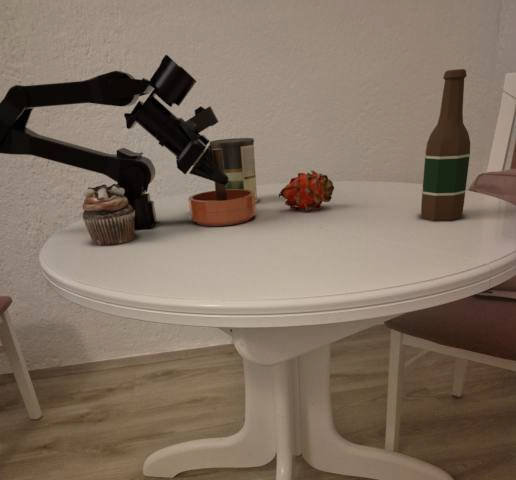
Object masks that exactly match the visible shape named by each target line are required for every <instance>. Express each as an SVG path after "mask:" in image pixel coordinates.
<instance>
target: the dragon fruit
mask: <svg viewBox="0 0 516 480" xmlns="http://www.w3.org/2000/svg"><path fill="white" fill-rule="evenodd" d="M310 172H311V173H310ZM310 172H307V173H304V172H298V173H297V176H296V177H292V178H291V179H290V181H289V183H288V184H286V185H285V186H284V187H283V188H282V189H280V190H281V191H280V192H279V193H278V198H281V197H282V198H283V199H284V200H285V201H284V205H285V206H287V207H289V209H290V210H298V211H301V210H304V209H305V212H309V211H310V210H312V209H314V210H319V209H321V207H322V204H323V203H330V202H331V200H332V198H333V197H332V195H333V192H334V190H335V186H334V183H333V182H334V181H332V180H331V179H330V178H328V175H326V174H323V173H317V172H316V171H314V170H313V169H312V170H310Z"/></svg>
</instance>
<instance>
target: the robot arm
mask: <svg viewBox="0 0 516 480" xmlns="http://www.w3.org/2000/svg"><path fill="white" fill-rule="evenodd" d="M196 84H197V80H196V79H195V77H193V76H192V75H191V74H190V73H189V72H188V71H187V70H186V69H185V68H184V67H182V65H179V64H178V63H177V62H176V61H174V59H173V58H171V57H170V56H169V55H168V54H165V55H164V56H163V58H161V61H160V64H159V66H158V67H157V68H156V70H155V71H154V73H153V75H152V76H151V77H150V79H148V78H145V77H143V78H142V79H139V78H136V77H134V76H133V75H132V74H130V73H128V72H125V71H121V70H120V71H119V70H113V71H109V72H106V73H102V74H99V75H96V76H94V77H91V78H89V79H85V80H79V81H69V82H68V81H67V82H57V83H56V82H55V83H43V84H31V85H30V84H29V85H21V84H15V85H11V86H10V87H9V88H8V91H7V92H6V94H5V96H4V97H3V99H2V100H1V101H0V154H3V155H17V156H20V155H21V156H22V155H23V156H34V157H37V158H41V159H45V160H48V161H53V162H56V163H59V164H64V165H68V166H71V167H75V168H78V169H83V170H86V171H88V172H89V171H90V172H94V173H97V174H101V175H103V176H106V177H108V178H109V179H111V180H113V181H114V182H116V184H117V185H119V186H120V188H123V189H124V190H125V193H124V195H123V196H125V197H126V198H127V199H128V204H130V205H131V206H132V208H133V210H135V220H134V230H142V229H152V228H153V226H154V225H155V223H156V221H157V213H156V209H155V208H156V207H155V201H154V200H151V195H150V193H147V192H148V190H149V185H150V184H151V183H152V182H153V181H154V179H155V177H156V167H155V165H154V163H153V161H152V160H151V159H149V158H148V157H146V156H144V152H134V151H132V150H129V149H128V148H125V147H121V148H119V149H117V150H116V153H115V154H114V153H113V154H112V153H107V152H103V151H100V150H96V149H93V148H89V147H86V146H82V145H78V144H75V143H71V142H67V141H63V140H60V139H56V138H52V137H49V136H46V135H43V134H39V133H36V132H35V131H33V130H32V129H30V128H29V127H27V125H28V124H29V121H30V117H31V115H32V112H33V111H34V109H36V108H46V107H58V106H71V105H82V104H83V105H84V104H96V105H102V106H103V105H104V106H113V107H132V106H133V105H135V106H134V107H133V109H132V110H131V111H130V112H124V114H123V116H124V119H125V125H126V126H125V127H126V129H127V130H131V129H134V127H135V126H136V124H138V125H139V126H140V127H141V128H142V129H143V130H145V131H146V132H147V133H148V134H149V135H150V136H152V137H153V138H154V139H155V140H156V141H157V142H158V145H160V147H162V148H163V147H165V149H167V150H168V151H169V152H170V153H171V154H172V155H174V157H175V159H176V161H175V162H176V168H177V169H178V170H179V171H180V172H181V173H183V174H184V175H187V174H188V173H189V174H190V175H193V176H197V177H198V178H199V177H200V178H203V179H206V180H208V181H212V182H217V183H220V184H223V185H226V184H227V183H228V177H227V175H226V174H225V176H224V174H223V173H222V172H221V171H220V169H219V168H218V167H217V166H216V164H215V163H214V162H213V161H212V153H211V144H210V142H211V140H210V139H208V138H207V137H206V136H205V135H204V134H200V133H201V132H203V131H205V130H206V129H208V128H209V127H213V126H215V125H217V124H218V123H219V119H218V117H217V115H216V114H215V112H214V110H213V108H212V107H211V105H210V106H208V107H206V108H204V106H202V105H200V106H198V107H197V108H196V109H194V116H192V117H190V118H189V119H187V120H184V119H183V118H182V117H177V116H176V115H175V114H174V113H173V112H172V111H170V109H168V107H166V106H165V105H164V104H166V105H167V106H169V107H170V108H172V107H173V105H176V106H178V107H180V105H181V104H182V103H183V102H184V100H185V99H186V97H187V96H188V94H189V93H190V92H191V90H192V89H193V88H194V86H195V85H196ZM146 95H148V97H147V98H146V99H145V101H142V100H139V98H140V97H143V96H146ZM156 96H157V97H158V98H159V99H160V100H161V101H162V102H163V103H164V104H163V103H162V102H161V101H160V100H158V99H157V98H156ZM189 170H190V171H189Z"/></svg>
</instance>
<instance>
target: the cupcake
mask: <svg viewBox="0 0 516 480" xmlns="http://www.w3.org/2000/svg"><path fill="white" fill-rule="evenodd" d="M124 193H125V190H124V189H123V188H120V186H119V185H117V183H113V184H111V185H109V186H107V184H101V185H97V186H94V187H87V189H85V190H84V191H83V195H84V198H85V199H84V200H83V203H82V205H81V207H82V210H83V212H82V221H83V223H84V225H85V227H86V229H87V232H88V234H89V236H90V239H91V241H92V243H93V245H97V246H113V245H119V244H124V243H128V242H130V241H132V240H134V239H135V238H136V232H135V230H136V229H134V220H135V210H133V208H132V206H131V205H130V204H128V199H127V198H126V197H125V196H123V195H124Z"/></svg>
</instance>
